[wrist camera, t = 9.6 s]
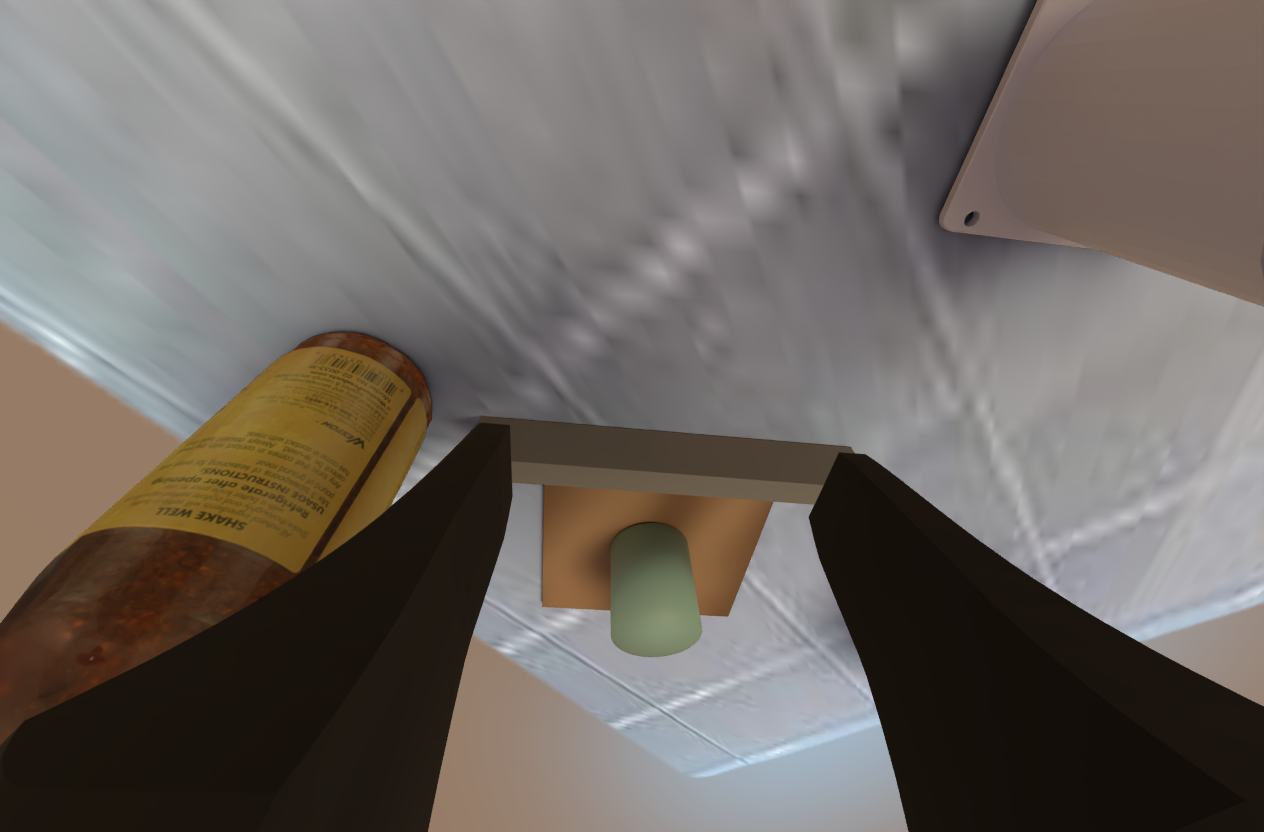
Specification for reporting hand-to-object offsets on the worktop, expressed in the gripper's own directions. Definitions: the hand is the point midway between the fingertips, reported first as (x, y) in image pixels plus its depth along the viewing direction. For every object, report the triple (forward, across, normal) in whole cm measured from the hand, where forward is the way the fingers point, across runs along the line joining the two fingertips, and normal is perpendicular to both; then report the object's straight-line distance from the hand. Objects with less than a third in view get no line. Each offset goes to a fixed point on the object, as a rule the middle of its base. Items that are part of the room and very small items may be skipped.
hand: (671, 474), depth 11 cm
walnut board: (+10, -2, +14) cm, 18 cm away
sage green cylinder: (+10, -2, +14) cm, 18 cm away
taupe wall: (+10, -2, +7) cm, 13 cm away
